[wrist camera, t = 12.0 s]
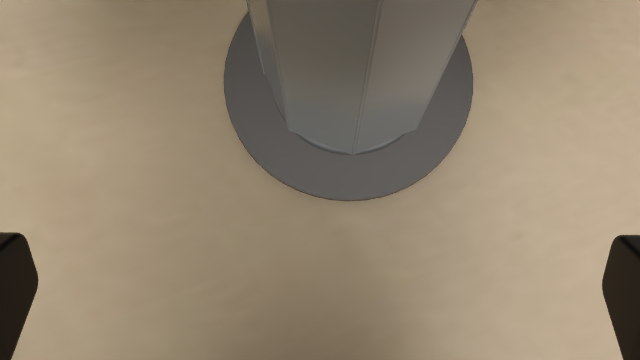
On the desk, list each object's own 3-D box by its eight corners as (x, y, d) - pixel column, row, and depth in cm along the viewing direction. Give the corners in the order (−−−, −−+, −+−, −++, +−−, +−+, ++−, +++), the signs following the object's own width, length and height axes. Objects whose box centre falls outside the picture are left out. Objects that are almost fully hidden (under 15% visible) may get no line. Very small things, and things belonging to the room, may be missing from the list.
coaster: (479, -13, 23) (482, -18, 23) (459, 217, 21) (461, 215, 21) (248, -41, 24) (246, -47, 23) (205, 182, 22) (202, 179, 21)
